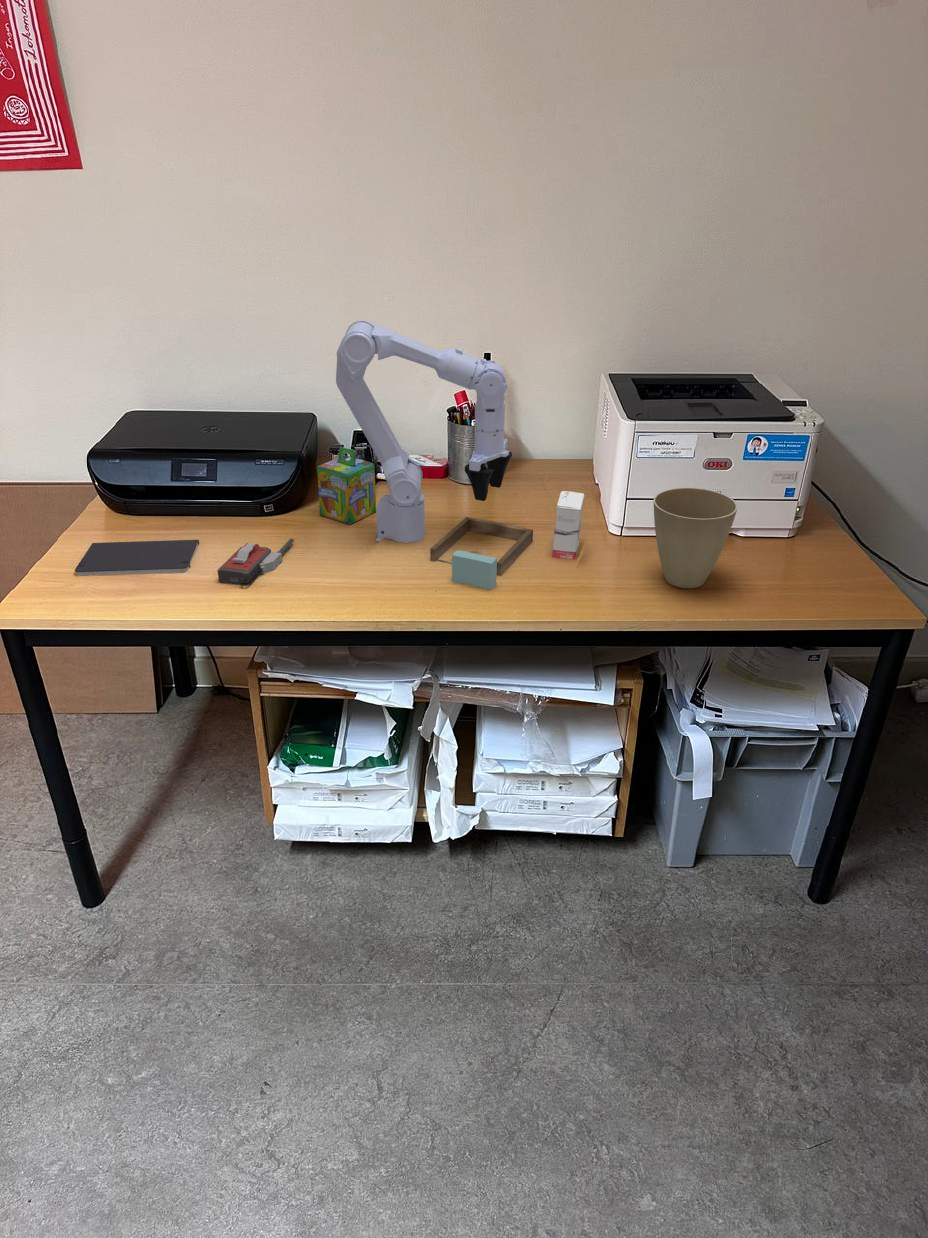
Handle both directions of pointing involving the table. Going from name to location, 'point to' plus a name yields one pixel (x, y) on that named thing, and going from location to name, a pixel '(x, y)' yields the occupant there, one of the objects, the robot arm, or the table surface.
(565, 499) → the ink box
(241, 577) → the walkie-talkie
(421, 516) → the robot arm
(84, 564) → the notebook
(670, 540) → the plant pot
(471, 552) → the offcut upper
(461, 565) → the teal rectangular block
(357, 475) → the chalk box
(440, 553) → the rack
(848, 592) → the table surface
